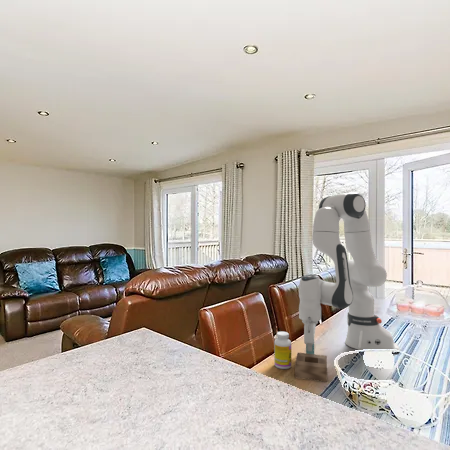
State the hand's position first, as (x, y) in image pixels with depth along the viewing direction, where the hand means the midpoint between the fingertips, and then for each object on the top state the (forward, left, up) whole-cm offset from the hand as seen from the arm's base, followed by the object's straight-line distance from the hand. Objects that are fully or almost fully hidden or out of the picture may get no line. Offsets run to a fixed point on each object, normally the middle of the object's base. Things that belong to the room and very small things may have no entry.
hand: (310, 347), depth 131 cm
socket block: (-1, +13, -5) cm, 14 cm away
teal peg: (0, 0, -5) cm, 5 cm away
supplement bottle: (+10, +10, -5) cm, 15 cm away
